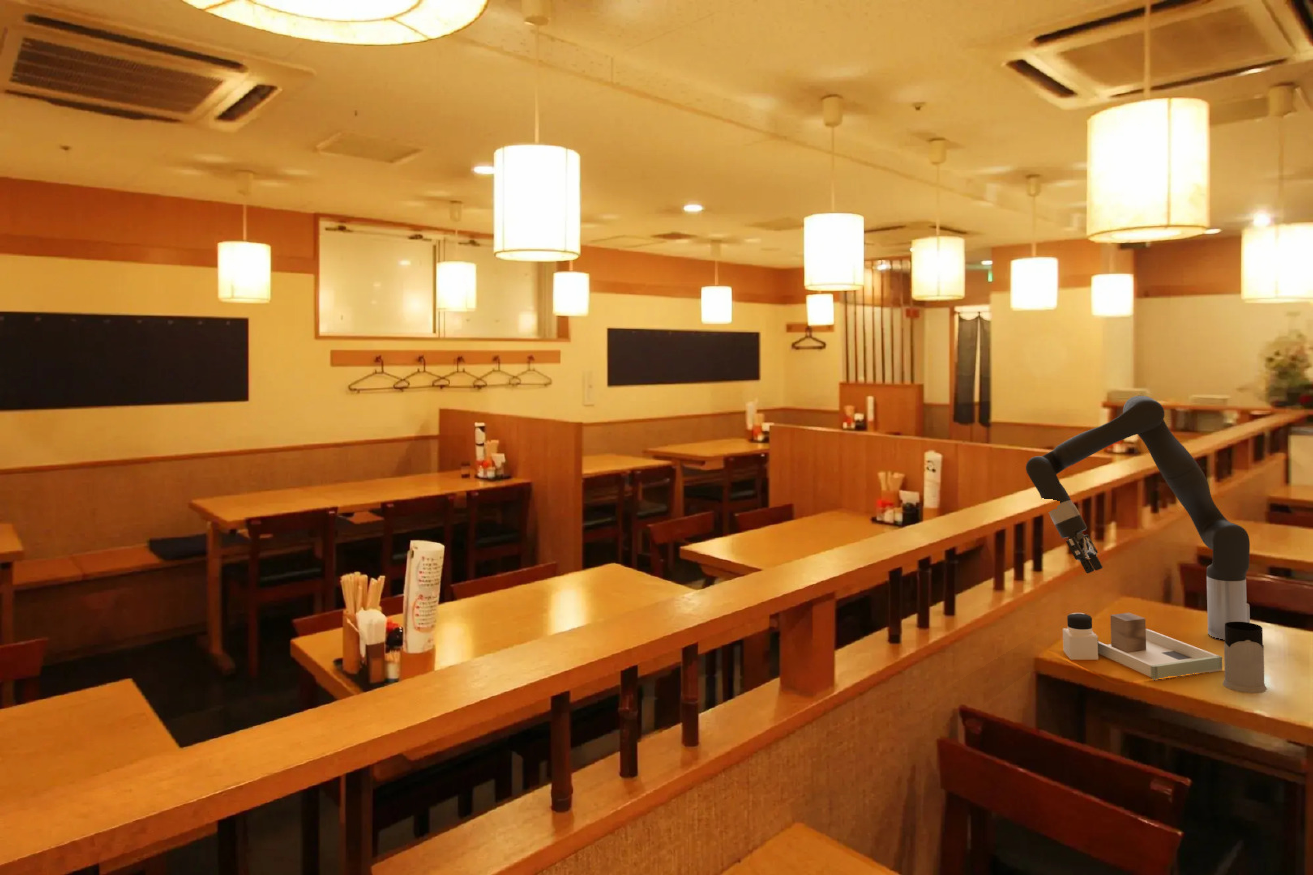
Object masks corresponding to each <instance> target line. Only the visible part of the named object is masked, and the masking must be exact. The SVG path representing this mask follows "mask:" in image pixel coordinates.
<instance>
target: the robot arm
mask: <svg viewBox="0 0 1313 875" xmlns="http://www.w3.org/2000/svg"><path fill="white" fill-rule="evenodd" d="M1164 418H1165V409H1164V407H1163V406H1162V404H1161V403H1160V402H1158V401H1157V400H1155V399H1154V398H1151V397H1149V396H1147V395H1136V396H1135V395H1133V396H1132V397H1130V398H1128V399H1127V400H1126V401H1125V403H1124V406H1123V409H1122V413H1121V414H1120V415H1118V417H1115V418H1114V419H1111V420H1110V421H1109V422H1106V423H1104V424H1102V425H1099V426H1097V427H1095V428H1092V429H1089V430H1086V431H1083V432H1081V433H1079V434H1076V435H1075V436H1072V437H1071V438H1069V439H1067V440H1065V441H1064V442H1063V441H1062V442H1061V443H1059V444H1058V445H1056V446H1055V448H1053V450H1051V451H1048V452H1047V453H1045V454H1044V455H1041V456H1040V455H1038V456H1033V457H1031V458H1030V459H1029V460H1028V461H1027V462H1026V464H1025V472H1026V474H1027V475H1028V478H1029V479H1030V481H1031V482H1032V484H1033V486H1034V487H1035V489H1036V490H1037V492H1038V493H1039V496H1040V498H1041V499H1042V498H1044V499H1053V500H1057V501H1060V505H1058V506H1057V509H1053V510H1052V511H1050V512H1048V514H1049V517H1050V519H1051V521H1052V522H1053V525H1054V526H1055V528H1056V530H1057V532H1058V534H1059V535H1060V536H1059V537H1060V538H1062V539H1066V538H1068V539H1066V540H1065V541H1066V544H1067V546H1068V548H1069V550H1070V551H1071V554H1072V556H1073V558H1074V559H1075V561H1078V562H1080V564H1081V566H1082V568H1083V569H1084V572H1085V573H1086V574H1090V573H1092V572H1094V571H1099V570H1102V569H1103V568H1104V567H1103V565H1102V563H1101V561H1100V559H1099V558H1098V553H1099V552H1098V549H1097V548H1096V546H1095V544H1094V543H1093V541H1092V539H1091V537H1090V535H1089V534H1084V533H1083V532H1084V531H1086V530H1087V529H1088V526H1087V524H1086V522H1085V521H1084V519H1083V517H1082V515H1081V514H1080V512H1079V509H1078V508H1077V506H1076V505H1075V503H1074V502H1073V501H1072V499H1071V497H1070V495H1069V494H1068V491H1067V489H1065V486H1064V485H1062V483H1061V482H1060V479H1059V477H1058V476H1057V475H1058V474H1059V473H1061V472H1063V471H1064V470H1065V469H1067V468H1068V467H1071V466H1073V465H1076V464H1077V463H1080V462H1081V461H1083V460H1085V459H1087V458H1088V457H1091V456H1092V455H1095V454H1096V453H1099V452H1100V451H1102V450H1103V449H1106V448H1108V447H1110V446H1111V445H1113V444H1116V443H1119V442H1121V441H1123V440H1126V439H1127V438H1131V437H1133V436H1136V435H1138V437H1139V438H1140V439H1141V441H1143V443H1144V445H1145V446H1146V448H1147V450H1148V452H1149V454H1150V456H1151V458H1152V460H1153V461H1154V463H1155V466H1156V467H1157V470H1159V473H1160V474H1161V476H1162V478H1163V479H1164V481H1165V483H1167V486H1168V487H1169V489H1170V490H1171V491H1172V492H1173V495H1175V497H1176V498H1177V500H1178V502H1179V503H1180V504H1181V505H1182V506H1183V508H1184V510H1186V512H1187V514H1188V516H1189V517H1190V519H1191V521H1192V523H1193V525H1194V527H1195V529H1196V531H1197V533H1198V535H1199V537H1200V539H1201V541H1202V542H1203V544H1204V545H1205V547H1206V548H1208V549H1210V550H1212V560H1211V561H1212V563H1211V564H1209V565H1208V566H1207V567H1206V600H1207V601H1206V603H1207V604H1206V605H1207V606H1206V607H1207V608H1206V609H1207V612H1206V613H1207V635H1208V634H1209V635H1211V636H1212V637H1211V636H1210V637H1211V638H1213V637H1215V638H1214V639H1216V638H1219V639H1218V640H1220V639H1223V640H1222V641H1225V623H1227V622H1233V621H1235V622H1248V623H1251V619H1250V618H1251V616H1250V614H1251V613H1250V611H1251V610H1250V604H1249V603H1247V572H1248V571H1249V568H1250V556H1251V555H1250V554H1251V552H1250V551H1251V549H1250V548H1251V547H1250V546H1251V542H1250V537H1249V534H1248V532H1247V530H1246V528H1244V527H1242V526H1241V525H1239V524H1236V523H1233V522H1230V521H1228V519H1227V517H1225V516H1224V515H1223V514H1222V511H1220V509H1219V508H1218V506H1217V505H1216V503H1215V502H1214V500H1213V498H1212V494H1211V489H1210V486H1209V483H1208V482H1209V481H1208V480H1207V477H1206V475H1205V473H1204V472H1203V470H1202V468H1201V467H1200V466H1199V464H1198V462H1197V461H1196V460H1195V458H1194V457H1193V455H1192V454H1191V453H1190V452H1189V451H1188V449H1187V448H1186V447H1185V446H1184V445H1183V444H1182V443H1181V442H1180V441H1179V439H1177V438H1176V437H1175V435H1174V434H1173V433H1172V432H1171V429H1170V428H1169V427H1168V425H1167V423H1166V422H1165V420H1164ZM1209 635H1208V636H1209Z"/></svg>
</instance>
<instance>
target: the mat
mask: <svg viewBox="0 0 1313 875" xmlns="http://www.w3.org/2000/svg"><path fill="white" fill-rule="evenodd" d="M1163 654H1165V655H1168V656H1170V657H1173V658H1175V659H1178V660H1182V659H1189V658H1191V657H1188V656H1185V655H1183V654H1180V653H1178V652H1175V651H1170V652H1163Z"/></svg>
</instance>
